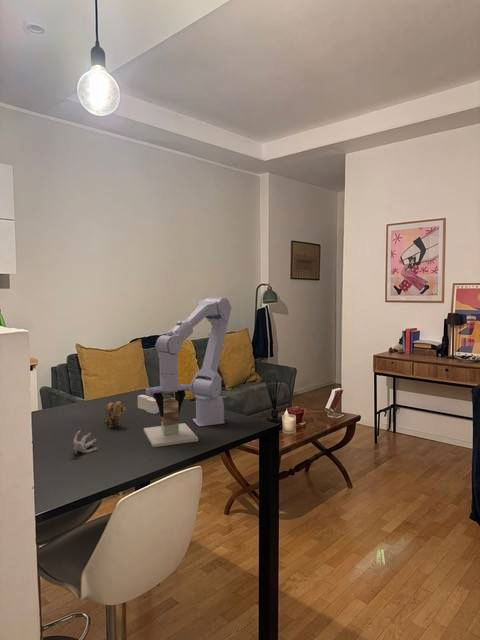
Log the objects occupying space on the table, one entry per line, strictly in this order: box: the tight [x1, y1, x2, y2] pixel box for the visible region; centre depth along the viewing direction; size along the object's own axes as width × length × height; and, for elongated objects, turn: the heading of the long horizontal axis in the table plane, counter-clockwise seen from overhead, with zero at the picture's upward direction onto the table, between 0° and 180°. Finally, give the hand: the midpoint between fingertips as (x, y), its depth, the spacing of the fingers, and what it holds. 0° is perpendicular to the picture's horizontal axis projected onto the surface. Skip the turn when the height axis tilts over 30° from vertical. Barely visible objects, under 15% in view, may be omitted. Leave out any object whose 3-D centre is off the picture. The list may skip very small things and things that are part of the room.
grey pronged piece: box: [70, 429, 98, 454], centre depth 134 cm, size 8×5×12 cm
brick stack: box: [160, 397, 180, 423], centre depth 145 cm, size 5×5×6 cm
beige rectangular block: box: [137, 394, 160, 415], centre depth 175 cm, size 15×11×6 cm
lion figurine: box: [104, 401, 127, 428], centre depth 159 cm, size 15×5×9 cm, turn 35°
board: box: [143, 421, 199, 448], centre depth 146 cm, size 14×16×4 cm
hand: (169, 415), depth 145 cm, fingers closed on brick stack, 4 cm apart
